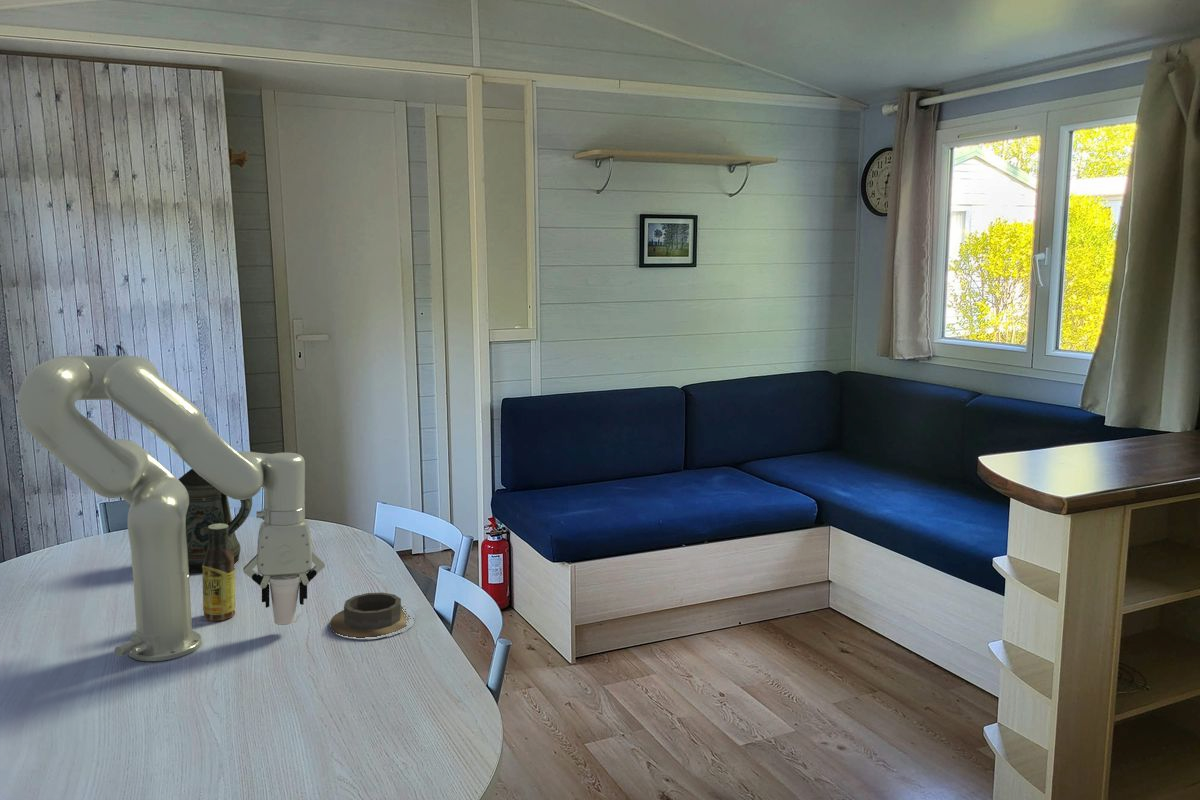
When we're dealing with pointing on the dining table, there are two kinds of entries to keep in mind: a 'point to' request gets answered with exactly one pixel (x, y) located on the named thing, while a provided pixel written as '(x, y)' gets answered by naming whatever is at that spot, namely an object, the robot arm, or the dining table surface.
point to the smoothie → (284, 597)
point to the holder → (370, 616)
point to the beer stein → (208, 518)
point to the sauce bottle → (218, 575)
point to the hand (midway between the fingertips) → (284, 602)
